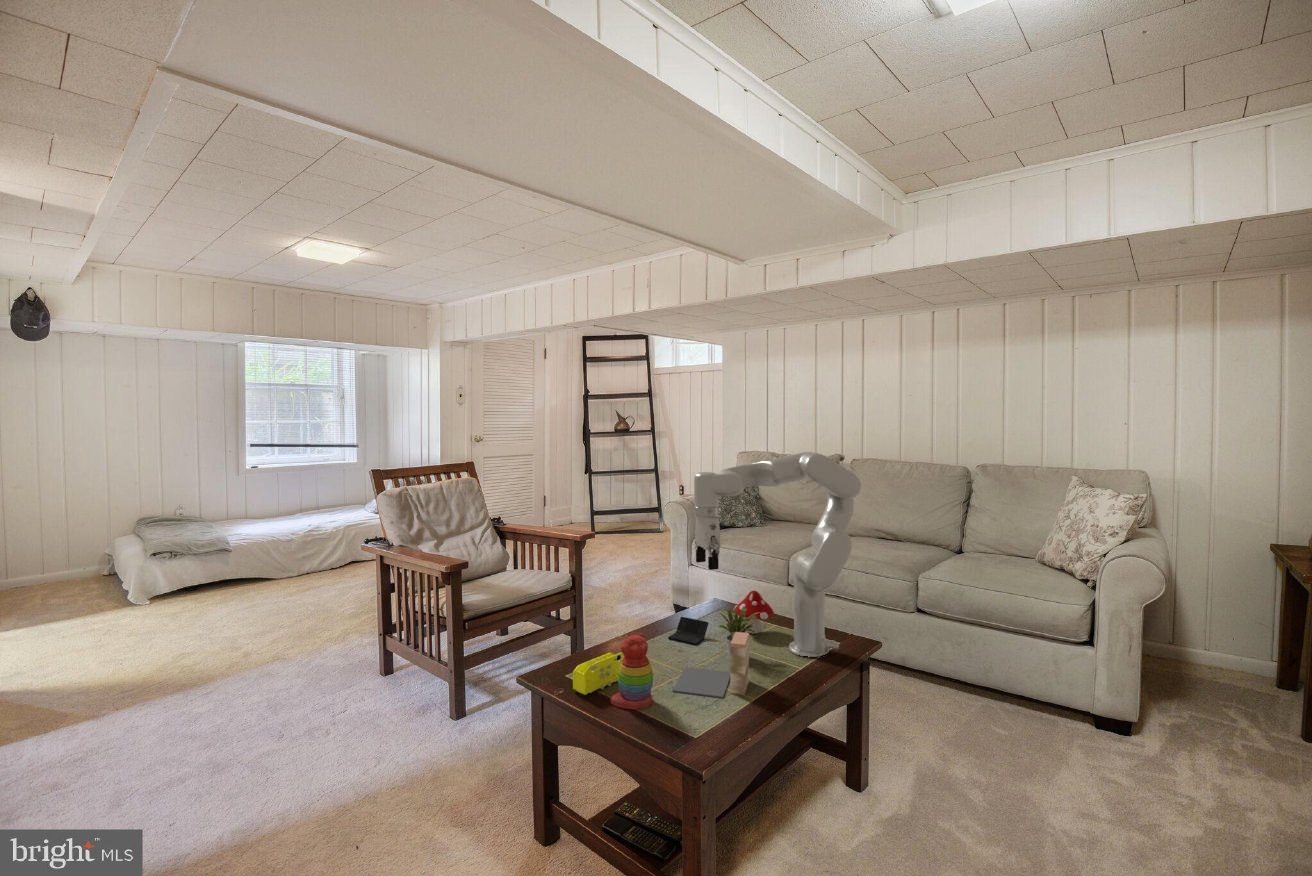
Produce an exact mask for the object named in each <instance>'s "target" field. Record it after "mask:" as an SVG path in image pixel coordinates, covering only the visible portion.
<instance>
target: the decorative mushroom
mask: <svg viewBox="0 0 1312 876" xmlns="http://www.w3.org/2000/svg"><path fill="white" fill-rule="evenodd" d="M763 598H764V597H763V596H762V594H761V593H760V592H758V591H757V590H751V591H749V592H748V593H747V594H746V596H745V597H743V598H742V600H741V601H740V602H739V603H738V604H736V605H734V607H735V609H736V612H737V615H738V617H739V616H740V613H741V611H742V609H743V607H744V609H745V608H747V609H746V612H745V617H744V619H746V618H748V617H749V616H751V615H752V614H754V613H757V614H755V615H754V617H757V616H758V617H757V618H751V619H750V620H749V621H748V625H746V626H745V627H747V626H749V625H750V624H752V623H755V624H752V626H753V627H752V628H749V629H751V630H754V631H755V633H756V634H755V633H754V632H752V631H748V630H747V631H746V632H747V633H749V634H753V635H754V634H755V635H757V634H759V633H761V632H762V629H763V628H762V623H761V620H766V619H769V618H772V616H774V614H775V612H774V610H773V608H772V607H771V605H770V604H769V603H768V602H767V601H765V599H763ZM732 610H733V612H734V613H735V611H734V608H733V609H732ZM758 612H760V613H758ZM750 622H751V623H750Z"/></svg>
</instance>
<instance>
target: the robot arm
mask: <svg viewBox="0 0 1312 876" xmlns="http://www.w3.org/2000/svg"><path fill="white" fill-rule="evenodd" d="M693 479H694V480H693V485H694V486H693V487H694V488H693V489H694V491H693V492H694V493H693V494H694V495H693V496H694V497H693V498H694V499H693V500H694V503H693V504H694V517H695V526H694V534H693V535H694V536H693V537H694V544H695V548H694V549H695V563H706V558H707V561H708V562H707V563H708V565H707V567H708V568H707V569H708V570H709V571H712V570H713V571H715V570H718V569H719V557H720V549H721V546H722V545H721V527H720V521H719V496H724V497H736V496H739V495H741V493H742V492H743V491H744V490H745V488H749V487H777V486H779V487H780V486H781V485H787V484H790V483H794V482H795V483H796V482H800V481H804V480H812V481H813V482H815V483H816V484H818V485H819V486H821V487H823V489H824V492H825V494H826V506H825V509H824V511H823V513H822V515H821V517H820V519H819V521H818V522H817V525H816V527H815V528H814V530H813V532H812V534H811V539H810V543H811V545H812V547H813V548H814V550H816V551H817V552H816V553H813V552H802V553H800V554H799V555H798V556H797V557H795V559H794V561H793V563H792V564H793V565H792V575H793V577H792V579H793V587H794V588H793V589H794V602H793V603H794V604H793V605H794V607H793V608H794V614H793V615H794V616H793V617H794V619H793V623H794V624H793V625H794V626H793V633H794V634H793V641H791V642H790V643H789V644H788V645H789V646H788V649H789V651H790V652H791V653H792V654H794V655H797V656H799V655H800V657H803V656H808V657H807V658H810V656H822V655H825V654H827V653H828V652H829V653H830V649H834V650H840V643H839V642H836V640H831V639H830V640H829V639H828V638H826V634H825V620H826V618H825V617H826V616H825V614H826V612H825V611H826V592H825V591H828V590H830V589H831V588H832V587H833V586H834V585H835V584H836V582H837V580H838V578H839V576H840V574H841V573H842V571H843V569H844V568H845V564H846V563H847V561H848V559H849V557H850V555H851V552H852V547H853V544H852V543H853V542H852V539H851V537H850V534H848V532H846V530H847V529H848V526H849V524H850V523H851V520H852V517H853V514H854V509H855V501H854V498H855V497H856V498H857V496H858V495H859V493H860V492H861V489H862V484H861V480H860V477H858V476H857V475H856V474H855V473H854V472H852V471H851V470H849V469H847V468H846V467H844V466H842V465H841V464H838V463H837V462H835V461H834V460H832V459H830V458H829V457H827V456H826V455H823V454H822V453H818V452H814V451H813V452H812V451H803V452H798V453H796V454H791V455H787V456H783V457H778V458H773V459H769V460H768V459H767V460H762V461H758V462H753V463H752V462H751V463H747V464H742V465H736V466H733V467H729V468H723V469H722V470H720V471H718V472H717V473H716V472H711V471H702V472H698V473H695V474H694V477H693ZM706 551H707V552H708V557H706V553H707V552H706Z"/></svg>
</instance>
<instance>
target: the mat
mask: <svg viewBox="0 0 1312 876" xmlns="http://www.w3.org/2000/svg"><path fill="white" fill-rule="evenodd" d="M729 682H730V671H725V670H724V671H723V670H715V669H706V668H700V667H699V668H698V667H692V666H691V667H690V666H685V667H684V669H683V670H682V673H681V674H680V676H679V677H678V680H677V682H676V683H675V685H674V687H673V689H672V692H674V693H678V694H680V693H681V694H688V695H696V696H702V697H712V698H719V699H724V696H725V693H726V691H727V688H728V685H729Z"/></svg>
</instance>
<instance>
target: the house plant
mask: <svg viewBox="0 0 1312 876" xmlns="http://www.w3.org/2000/svg"><path fill="white" fill-rule="evenodd" d="M733 609H734V611H735V612H734V611H733V612H734V613H732V612H731V610H730V609H729V608H728V607H727V606H725V610H726V613H727V617H728V618H727V617H726V615H724V614H723V613H722V612H719V613H720V614H719V615H721V616H722V617H723V619H725V621H726V622H727V623H726V624H725V625H723V624H722V625H721V624H720V625H718V626H717V628H721V629H724V630H726V631H728V632H729V633H730V634H729V635H728V634H727V635H726V636H725V641H726V647H727V654H728V658H729V659H730V660H731V641H732V639H733V636H734V634H735V632H743V633H746V632H748V631H752V632H754V633H755V631H754V630H751V629H749V628H752V627H753V626H752V624H755V623H752V624H750V625H749V626H747V627H746V625H748V621H749V620H750V619H751V618H757V617H758V616H757V617H754V615H755V614H757V613H754V614H752V615H751V616H749V617H748V618H744V617H745V612H746V609H747V608H745V609H744V607H743V609H742V611H741V613H740V616H738V615H737V612H736V609H735V606H733ZM758 613H760V612H758ZM750 623H751V622H750ZM747 630H748V631H747ZM755 635H757V634H756V633H755Z"/></svg>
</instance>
